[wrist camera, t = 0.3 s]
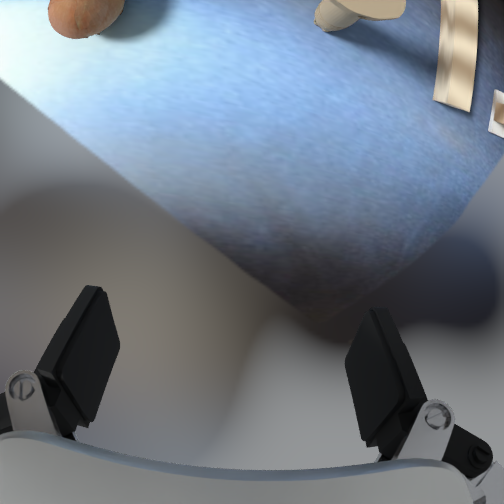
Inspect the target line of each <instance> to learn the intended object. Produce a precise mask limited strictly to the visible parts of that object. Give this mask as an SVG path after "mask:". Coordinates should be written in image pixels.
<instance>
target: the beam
mask: <svg viewBox="0 0 504 504" xmlns="http://www.w3.org/2000/svg"><path fill="white" fill-rule="evenodd" d="M477 37H478V0H441V25H440V42H439V54H438V64H437V73H436V81H435V89H434V96H433V100H435V101H438V102H440V103H443V104H446V105H449V106H451V107H454V108H457V109H461V110H464V111H468V112H470V106H471V99H472V92H473V85H474V76H475V66H476V54H477Z"/></svg>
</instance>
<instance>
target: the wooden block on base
mask: <svg viewBox="0 0 504 504" xmlns="http://www.w3.org/2000/svg"><path fill="white" fill-rule="evenodd" d="M488 131H489V132H491V133H494V134H496V135H498V136H500V137H503V138H504V93H502V92H500V91H498V90H495V91H494V98H493V105H492V112H491V118H490V124H489V129H488Z"/></svg>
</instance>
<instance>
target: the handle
mask: <svg viewBox="0 0 504 504" xmlns="http://www.w3.org/2000/svg"><path fill="white" fill-rule="evenodd" d="M405 5H406V0H323V1H322V2H321V3H320V4H319V5H318V7H317V9H316V12H315V20H314V24H315V25H317V26H319V27H320V28H321V29H322V30H323V31H325V32H330V31H337V30H341V29H344V28H347V27H349V26H351V25H352V24H354V23H355V22H356V21H358V20H359V19H365V20H371V21H380V20H391V19H396V18H399V17H400V16H401V15H402V14H403V12H404V10H405Z"/></svg>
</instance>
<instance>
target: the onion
mask: <svg viewBox="0 0 504 504" xmlns="http://www.w3.org/2000/svg"><path fill="white" fill-rule="evenodd" d="M124 2H125V0H50V3H49V6H48V15H49V21H50V23H51V26H52V27H53V29H54V30H55V31H56V32H58V33H59V34H61V35H63V36H65V37H68V38H72V39H80V38H88V36H92V35H94V34H98V35H100V32H101V31H103V30H105V29H106V28H107V27H109V26H110V25H111V24H112V23H113V22H114V21H115V20H116V19H117V17H118V16H119V15H120V14H121V13H122V12H123V8H124V7H123V6H124Z"/></svg>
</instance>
